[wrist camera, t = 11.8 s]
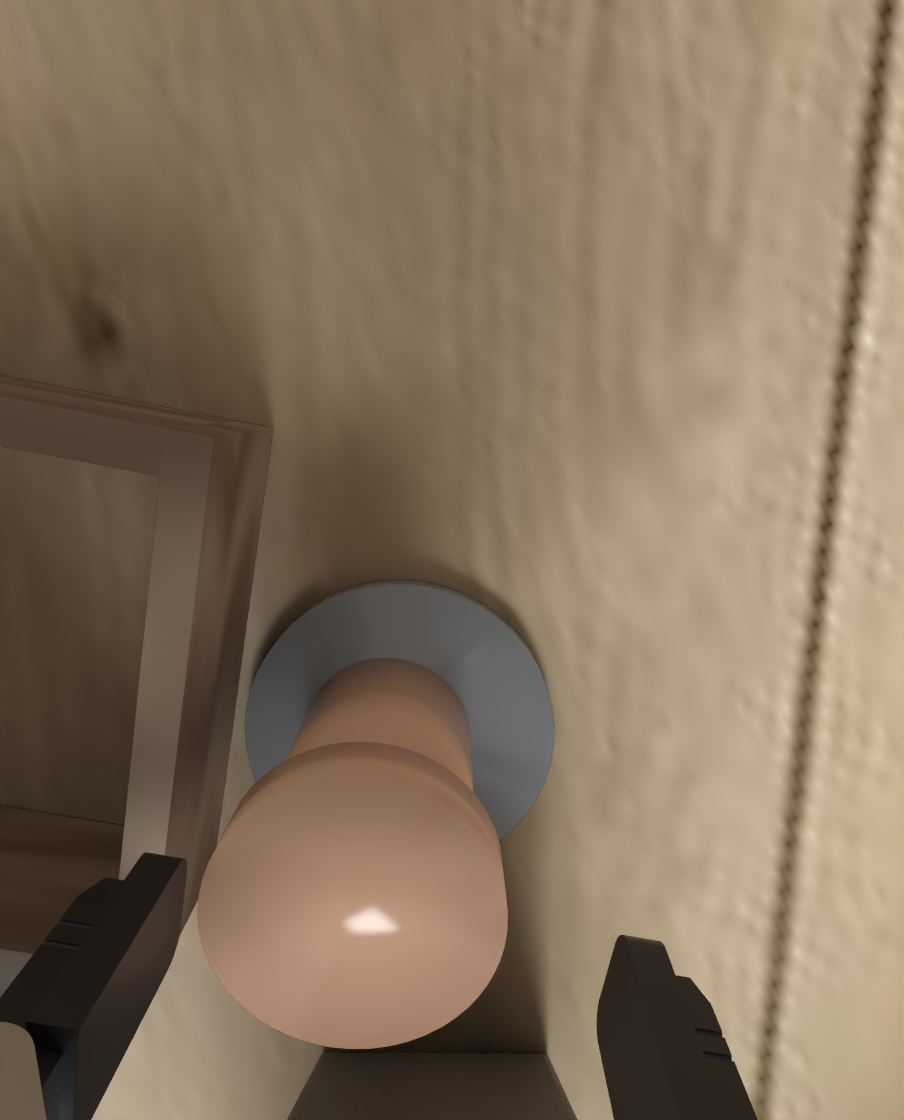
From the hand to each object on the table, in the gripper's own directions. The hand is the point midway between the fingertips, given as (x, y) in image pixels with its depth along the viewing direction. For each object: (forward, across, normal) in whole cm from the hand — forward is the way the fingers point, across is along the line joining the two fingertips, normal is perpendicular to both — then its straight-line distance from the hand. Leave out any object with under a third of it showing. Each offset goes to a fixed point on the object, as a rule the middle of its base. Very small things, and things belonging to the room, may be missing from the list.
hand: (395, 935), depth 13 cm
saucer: (+9, +1, 0) cm, 9 cm away
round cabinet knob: (+8, +1, 0) cm, 8 cm away
